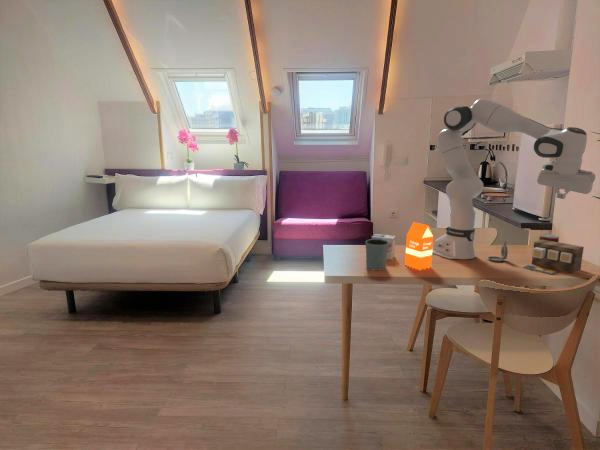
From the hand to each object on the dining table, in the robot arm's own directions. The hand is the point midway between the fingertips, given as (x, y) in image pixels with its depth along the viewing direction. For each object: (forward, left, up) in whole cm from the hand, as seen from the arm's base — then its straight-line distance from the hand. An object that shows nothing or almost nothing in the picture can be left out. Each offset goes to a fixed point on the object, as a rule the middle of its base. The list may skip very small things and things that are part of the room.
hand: (560, 198), depth 177 cm
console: (0, +5, -32) cm, 32 cm away
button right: (+5, +2, -27) cm, 28 cm away
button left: (-5, 0, -27) cm, 28 cm away
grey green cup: (-50, -60, -32) cm, 85 cm away
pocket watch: (-21, -6, -32) cm, 39 cm away
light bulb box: (-59, -45, -32) cm, 81 cm away
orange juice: (-39, -44, -32) cm, 67 cm away
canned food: (-9, +18, -32) cm, 38 cm away
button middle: (0, +2, -27) cm, 28 cm away
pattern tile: (-2, -6, -32) cm, 33 cm away
